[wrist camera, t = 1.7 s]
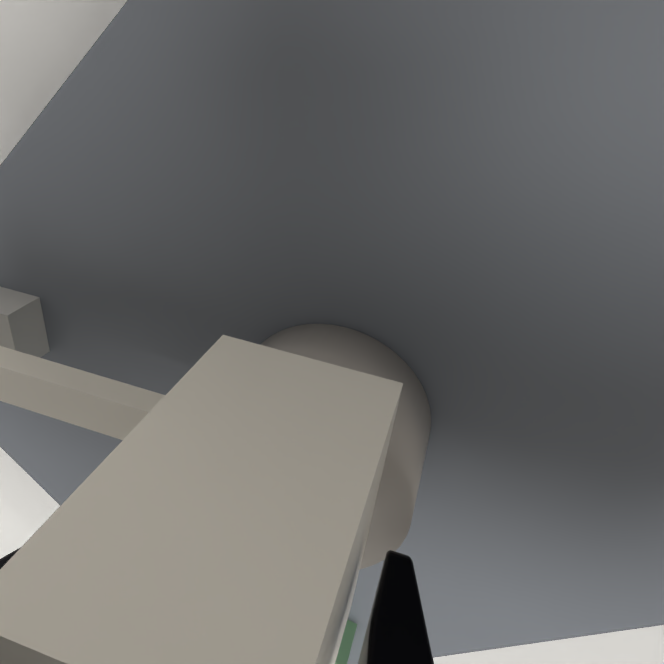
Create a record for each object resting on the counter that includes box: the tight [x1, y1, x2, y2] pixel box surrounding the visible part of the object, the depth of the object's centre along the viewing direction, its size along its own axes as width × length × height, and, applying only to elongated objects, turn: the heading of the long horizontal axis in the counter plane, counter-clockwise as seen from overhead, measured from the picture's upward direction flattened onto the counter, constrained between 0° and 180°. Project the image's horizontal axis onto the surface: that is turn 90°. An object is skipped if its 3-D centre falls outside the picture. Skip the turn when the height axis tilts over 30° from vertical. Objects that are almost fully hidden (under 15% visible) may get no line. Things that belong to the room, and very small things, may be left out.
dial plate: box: [0, 0, 664, 664], centre depth 12 cm, size 22×17×3 cm
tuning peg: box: [0, 324, 431, 664], centre depth 10 cm, size 12×6×8 cm, turn 84°
